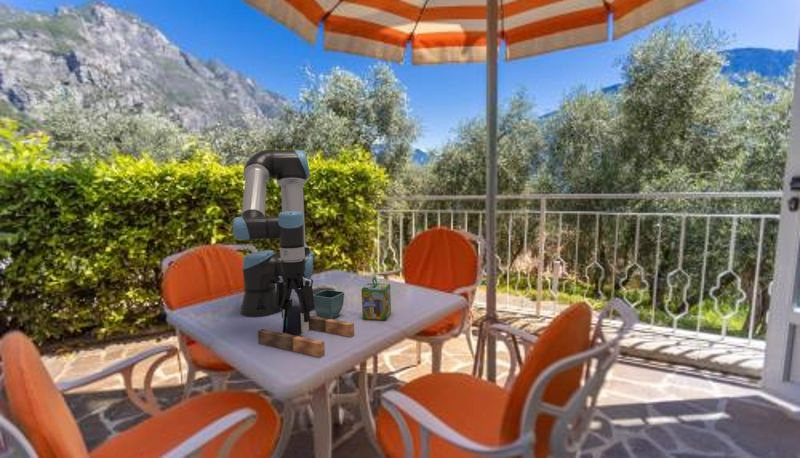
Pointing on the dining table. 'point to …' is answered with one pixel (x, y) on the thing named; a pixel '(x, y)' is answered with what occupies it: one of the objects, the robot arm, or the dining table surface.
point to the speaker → (292, 319)
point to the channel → (304, 343)
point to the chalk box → (376, 301)
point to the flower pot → (328, 303)
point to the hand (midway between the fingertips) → (296, 329)
